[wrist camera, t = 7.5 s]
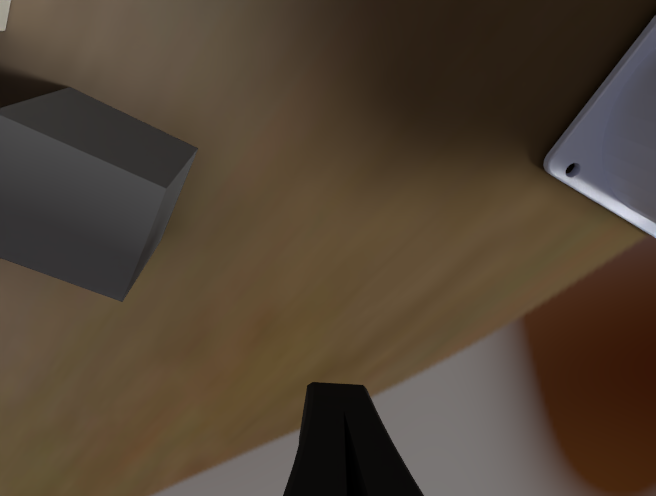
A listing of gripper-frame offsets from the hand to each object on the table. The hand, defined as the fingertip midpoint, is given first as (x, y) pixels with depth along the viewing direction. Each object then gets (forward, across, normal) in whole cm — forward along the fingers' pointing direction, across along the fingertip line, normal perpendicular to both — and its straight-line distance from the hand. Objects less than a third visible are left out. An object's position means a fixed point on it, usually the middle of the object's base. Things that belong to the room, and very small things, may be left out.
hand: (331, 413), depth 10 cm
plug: (+8, +7, -3) cm, 11 cm away
